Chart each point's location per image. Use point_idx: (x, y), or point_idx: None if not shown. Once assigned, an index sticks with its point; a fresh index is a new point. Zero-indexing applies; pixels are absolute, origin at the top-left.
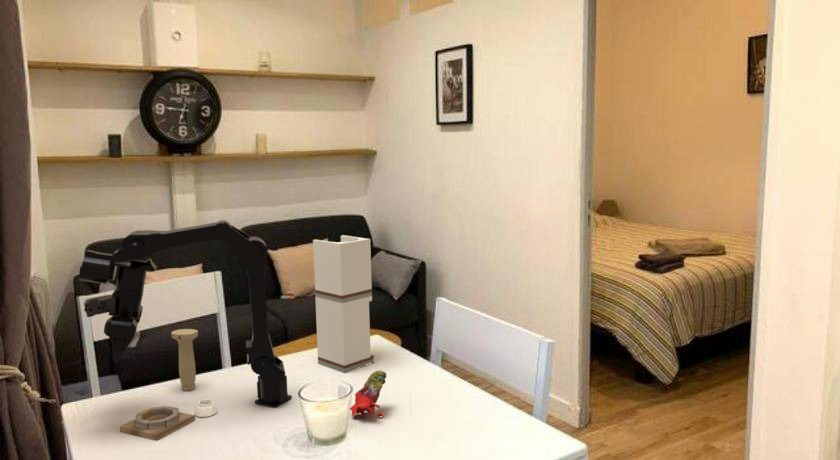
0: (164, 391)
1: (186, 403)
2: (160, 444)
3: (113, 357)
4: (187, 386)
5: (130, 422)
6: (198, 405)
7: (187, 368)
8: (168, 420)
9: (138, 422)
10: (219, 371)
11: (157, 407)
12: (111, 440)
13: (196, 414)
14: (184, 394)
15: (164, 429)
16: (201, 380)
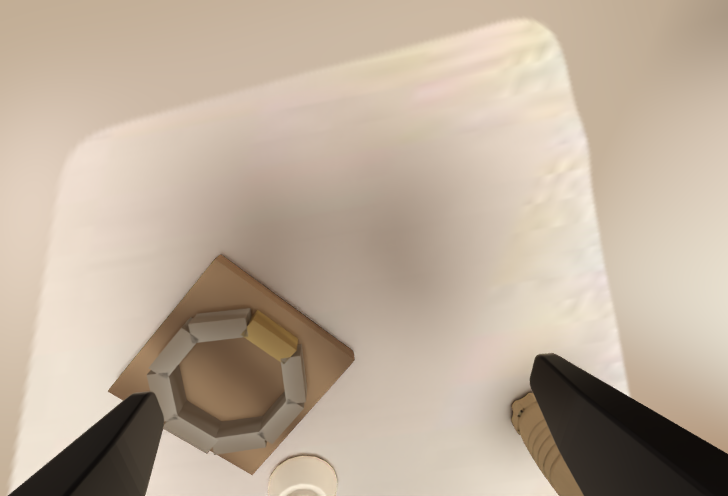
0: (539, 339)
1: (405, 418)
2: (87, 393)
3: (99, 425)
4: (518, 419)
5: (243, 290)
6: (303, 488)
7: (552, 480)
8: (169, 429)
9: (175, 335)
10: None
11: (297, 379)
12: (151, 238)
13: (280, 468)
14: (486, 402)
15: None
16: None
